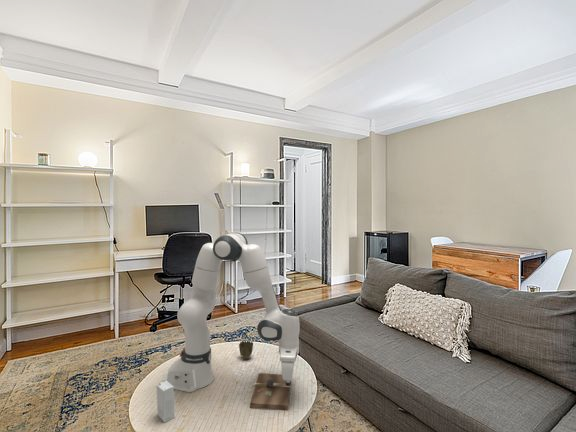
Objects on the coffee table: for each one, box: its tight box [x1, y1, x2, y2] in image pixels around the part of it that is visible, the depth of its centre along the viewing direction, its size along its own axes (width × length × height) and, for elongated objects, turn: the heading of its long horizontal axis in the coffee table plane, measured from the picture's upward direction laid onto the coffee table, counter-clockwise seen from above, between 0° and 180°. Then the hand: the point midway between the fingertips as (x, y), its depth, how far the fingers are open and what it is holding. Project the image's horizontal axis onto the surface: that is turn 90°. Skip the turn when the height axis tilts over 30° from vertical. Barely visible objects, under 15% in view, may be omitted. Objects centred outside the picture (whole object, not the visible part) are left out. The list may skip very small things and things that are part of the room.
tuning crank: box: [253, 380, 292, 388], centre depth 135 cm, size 16×3×6 cm, turn 86°
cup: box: [238, 340, 254, 361], centre depth 163 cm, size 8×7×8 cm
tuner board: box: [249, 372, 291, 411], centre depth 134 cm, size 15×22×2 cm
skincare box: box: [156, 381, 176, 423], centre depth 118 cm, size 6×4×12 cm
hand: (288, 379), depth 134 cm, fingers closed on tuning crank, 2 cm apart
